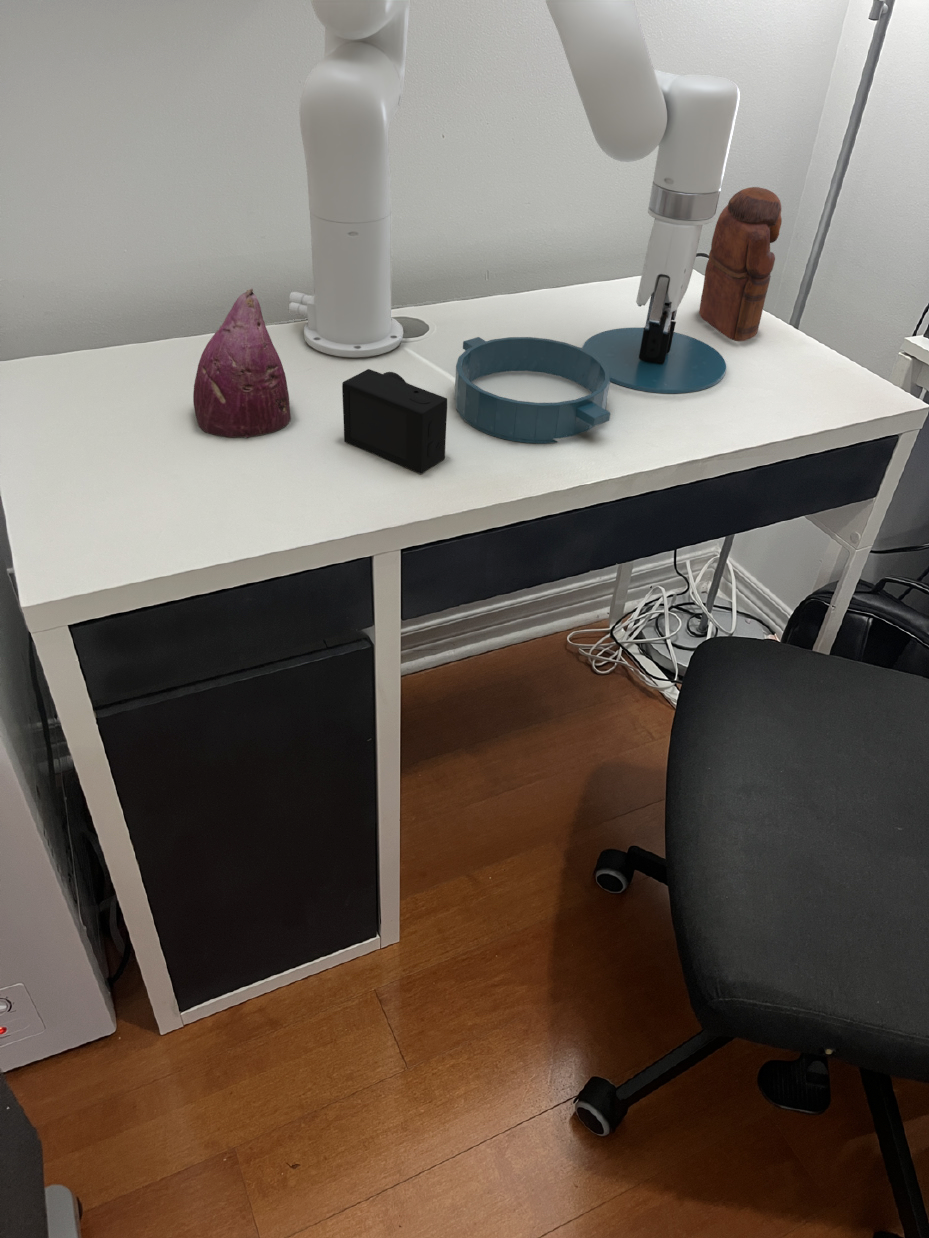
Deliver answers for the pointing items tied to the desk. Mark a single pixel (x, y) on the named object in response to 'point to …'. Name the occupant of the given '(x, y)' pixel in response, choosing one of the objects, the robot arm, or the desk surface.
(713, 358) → the tin lid
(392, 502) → the desk surface
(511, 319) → the desk surface
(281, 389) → the vegetable
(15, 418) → the desk surface
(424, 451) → the digital camera
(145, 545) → the desk surface
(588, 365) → the tin
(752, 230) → the wooden figurine
